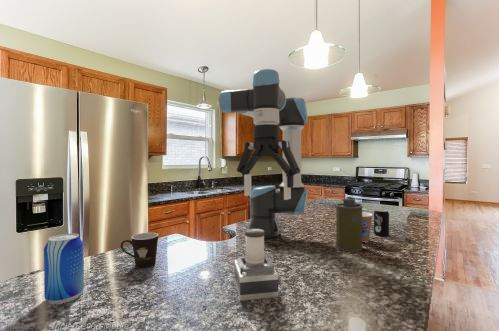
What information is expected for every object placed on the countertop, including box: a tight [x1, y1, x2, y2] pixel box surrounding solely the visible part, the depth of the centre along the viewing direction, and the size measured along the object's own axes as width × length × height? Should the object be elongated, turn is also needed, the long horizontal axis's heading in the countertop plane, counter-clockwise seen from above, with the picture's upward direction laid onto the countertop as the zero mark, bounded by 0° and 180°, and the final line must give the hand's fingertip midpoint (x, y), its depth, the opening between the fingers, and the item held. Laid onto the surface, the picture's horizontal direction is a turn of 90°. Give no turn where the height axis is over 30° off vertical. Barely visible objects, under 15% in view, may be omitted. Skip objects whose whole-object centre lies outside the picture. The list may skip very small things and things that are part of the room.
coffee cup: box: [362, 211, 374, 243], centre depth 119 cm, size 10×10×12 cm
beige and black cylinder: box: [244, 228, 265, 267], centre depth 75 cm, size 5×5×10 cm
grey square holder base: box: [233, 254, 279, 301], centre depth 75 cm, size 12×10×7 cm
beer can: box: [43, 233, 85, 305], centre depth 70 cm, size 8×8×16 cm
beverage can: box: [373, 208, 390, 237], centre depth 128 cm, size 7×7×12 cm
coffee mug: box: [120, 232, 159, 270], centre depth 92 cm, size 12×9×10 cm
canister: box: [335, 197, 364, 253], centre depth 109 cm, size 11×10×20 cm
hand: (266, 197), depth 79 cm, fingers open, 13 cm apart
